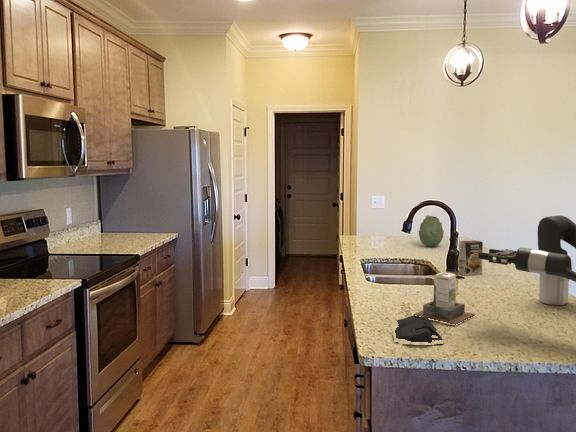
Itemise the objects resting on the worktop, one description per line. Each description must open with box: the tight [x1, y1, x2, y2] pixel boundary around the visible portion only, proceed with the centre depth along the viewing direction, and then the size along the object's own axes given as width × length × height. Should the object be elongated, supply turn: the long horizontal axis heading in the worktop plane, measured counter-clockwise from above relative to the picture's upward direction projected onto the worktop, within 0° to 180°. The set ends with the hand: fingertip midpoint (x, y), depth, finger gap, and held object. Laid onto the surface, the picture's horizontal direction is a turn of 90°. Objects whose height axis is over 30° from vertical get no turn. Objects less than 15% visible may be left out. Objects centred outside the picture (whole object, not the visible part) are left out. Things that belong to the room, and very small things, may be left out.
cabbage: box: [418, 215, 445, 248], centre depth 316 cm, size 16×19×20 cm
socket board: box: [413, 300, 476, 325], centre depth 175 cm, size 16×14×4 cm
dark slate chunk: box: [395, 314, 443, 343], centre depth 160 cm, size 15×22×5 cm
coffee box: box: [458, 239, 483, 277], centre depth 238 cm, size 9×6×16 cm
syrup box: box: [433, 271, 457, 309], centre depth 175 cm, size 6×6×14 cm
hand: (484, 253), depth 170 cm, fingers open, 8 cm apart
